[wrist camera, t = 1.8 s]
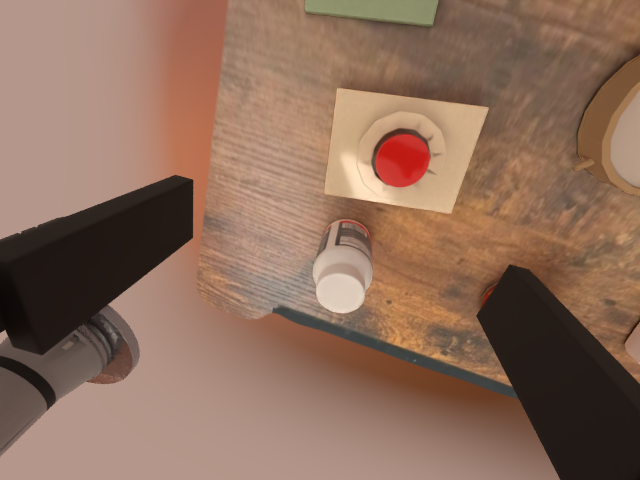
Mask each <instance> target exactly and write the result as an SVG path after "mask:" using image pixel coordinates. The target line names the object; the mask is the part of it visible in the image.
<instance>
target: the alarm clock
mask: <svg viewBox="0 0 640 480" xmlns="http://www.w3.org/2000/svg"><path fill="white" fill-rule="evenodd" d="M577 141H578V155H579V157H580V160H581V162H580V163H578V164H577V165H575V166H573V170H574V171H577V170H581V169H584V168H585V170H587V171H588V172H589V173H591V174H592V175H593V176H595V177H596V178H597V179H599V180H600V181H602V182H606V183H608V184H610V185H612V186H615V187H617V188H619V189H621V190H622V191H623V192H625V193H629V194H633V195H637V196H640V55H638V56H637V57H635V58H633V59H632V60H630V61H629V62H627V63H626V64H625V65H624V66H623V67H621V68H620V69H619V70H618V71H617V72H616V73H615V74H614V75H613V76H612V77H611V78H610V79H609V80H608V81H607V82H606V83H605V84H604V85H603V86H602V87H601V88H600V90H599V91H598V93H597V94H596V96H595V97H594V99H593V100H592V102H591V103H590V105H589V106H588V108H587V109H586V111H585V113H584V116H583V119H582V122H581V125H580V128H579V131H578V134H577Z"/></svg>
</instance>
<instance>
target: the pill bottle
mask: <svg viewBox="0 0 640 480" xmlns="http://www.w3.org/2000/svg"><path fill="white" fill-rule="evenodd" d="M372 277H373V266H372V249H371V238H370V234H369V232H368V230H367V229H366V228H365V226H364V225H362V224H361V223H359V222H357V221H355V220H351V219H341V220H337V221H335V222H333V223H332V224H330V225H329V226H328V227H327V228H326V230H325V231H324V234H323V236H322V240H321V243H320V246H319V250H318V253H317V256H316V259H315V262H314V266H313V278H314V281H315V283H316V285H317V286H316V296H317V299H318V301H319V302H320V304H321V305H322V306H323V307H325V308H326V309H328V310H330V311H332V312H336V313H348V312H351V311H354V310H356V309H357V308H358V307H360V305H361V304H362V303H363V301H364V298H365V291H366V290H367V289H368V287H369V286H370V284H371V281H372Z"/></svg>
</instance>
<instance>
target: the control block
mask: <svg viewBox="0 0 640 480" xmlns="http://www.w3.org/2000/svg"><path fill="white" fill-rule="evenodd" d="M488 109H489V108H488V107H483V106H475V105H468V104H460V103H452V102H444V101H437V100H429V99H421V98H413V97H406V96H398V95H390V94H382V93H374V92H367V91H359V90H351V89H343V88H337V94H336V102H335V109H334V117H333V125H332V133H331V141H330V148H329V156H328V164H327V172H326V180H325V188H324V194H328V195H334V196H340V197H347V198H353V199H359V200H366V201H372V202H378V203H385V204H391V205H397V206H404V207H410V208H416V209H422V210H429V211H435V212H441V213H448V214H451V213H452V210H453V207H454V204H455V201H456V199H457V196H458V193H459V190H460V187H461V185H462V182H463V179H464V176H465V173H466V171H467V168H468V165H469V162H470V159H471V157H472V154H473V151H474V148H475V145H476V143H477V140H478V137H479V134H480V132H481V129H482V126H483V123H484V120H485V118H486V115H487V112H488ZM399 132H407V133H411V134H413V135H415V136H417V137H418V138H419V139H421V140H422V141H423V142H424V143H425V145H426V146H427V148H428V151H429V155H430V161H429V166H428V169H427V171H426V173H425V174H424V176H423V177H422V178H421V179H420V180H419V181H417V182H416V183H414V184H413V185H410V186H407V187H393V186H390V185H388V184H386V183H385V182H384V181H383V180H382V179H381V178H380V177H379V175H378V173H377V170H376V164H375V155H376V151H377V149H378V147H379V145H380V144H381V142H382V141H383V140H384V139H385V138H387V137H388V136H390V135H392V134H395V133H399Z"/></svg>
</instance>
